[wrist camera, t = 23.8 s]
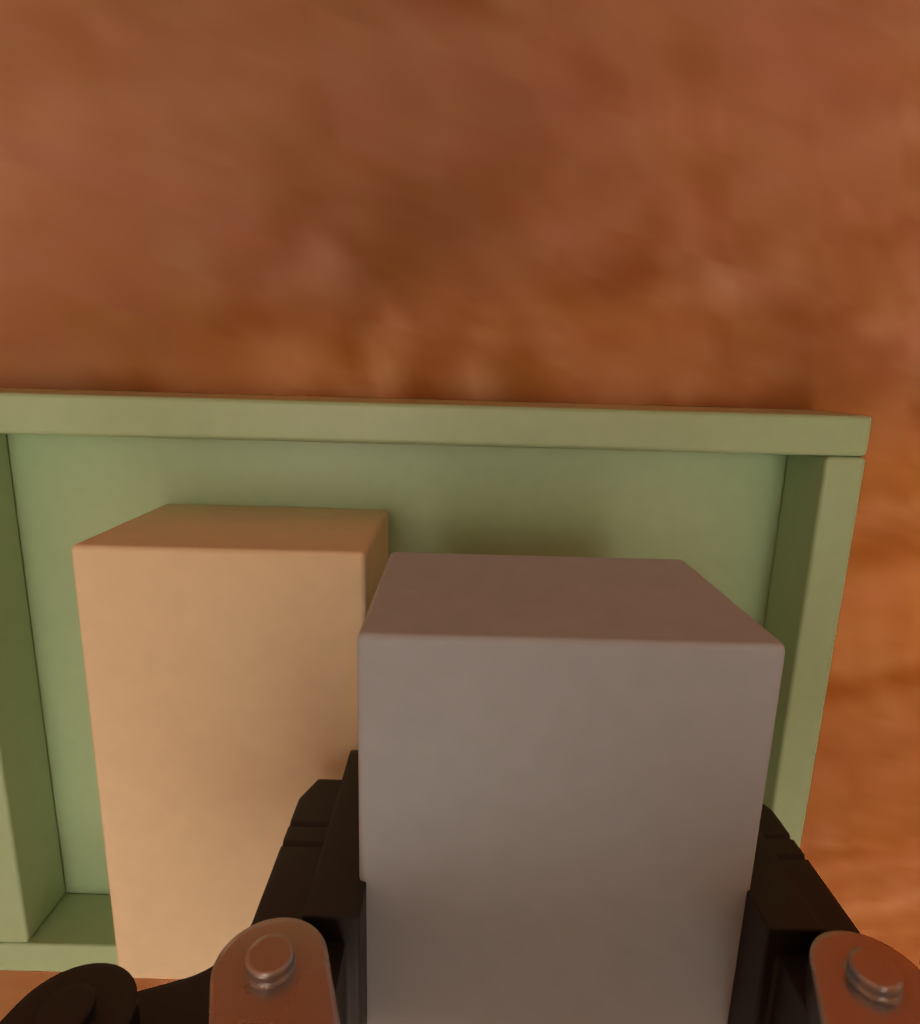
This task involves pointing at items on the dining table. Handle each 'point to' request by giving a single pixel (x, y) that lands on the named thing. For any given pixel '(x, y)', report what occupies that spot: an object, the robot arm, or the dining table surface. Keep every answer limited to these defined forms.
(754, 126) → the dining table surface
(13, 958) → the tray
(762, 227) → the dining table surface
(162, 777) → the cream pad
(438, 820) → the blue-grey pad
